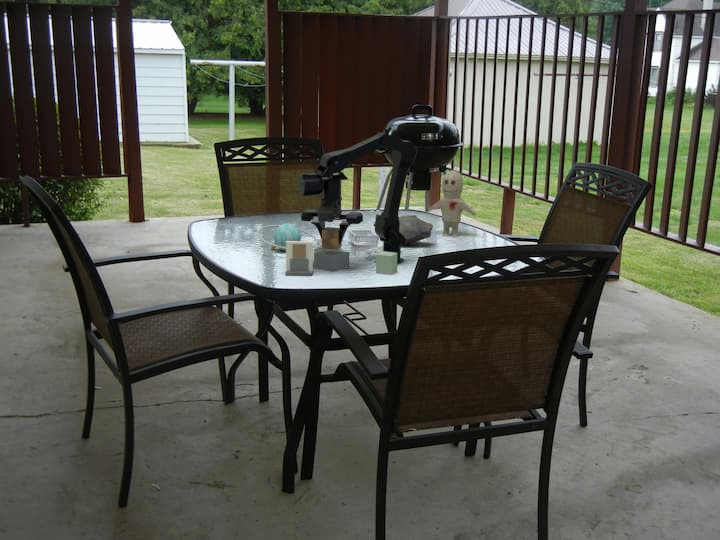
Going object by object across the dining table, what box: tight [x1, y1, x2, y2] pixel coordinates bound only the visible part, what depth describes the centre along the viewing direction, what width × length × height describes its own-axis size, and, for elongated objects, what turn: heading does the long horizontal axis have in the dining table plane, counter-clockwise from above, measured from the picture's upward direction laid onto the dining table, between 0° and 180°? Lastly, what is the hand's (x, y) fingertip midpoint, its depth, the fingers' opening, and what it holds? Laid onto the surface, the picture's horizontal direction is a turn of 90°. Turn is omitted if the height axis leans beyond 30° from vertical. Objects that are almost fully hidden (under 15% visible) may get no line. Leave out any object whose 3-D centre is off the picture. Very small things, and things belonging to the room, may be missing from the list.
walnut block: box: [321, 226, 343, 250], centre depth 242 cm, size 5×5×6 cm
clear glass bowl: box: [256, 222, 319, 252], centre depth 265 cm, size 10×20×20 cm
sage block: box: [375, 250, 398, 276], centre depth 238 cm, size 5×5×6 cm
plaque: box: [285, 240, 314, 277], centre depth 234 cm, size 8×5×10 cm, turn 91°
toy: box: [427, 169, 477, 238], centre depth 292 cm, size 18×8×25 cm, turn 65°
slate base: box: [313, 249, 351, 272], centre depth 243 cm, size 8×8×5 cm
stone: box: [399, 214, 434, 245], centre depth 278 cm, size 18×10×15 cm
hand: (331, 243), depth 242 cm, fingers closed on walnut block, 5 cm apart
